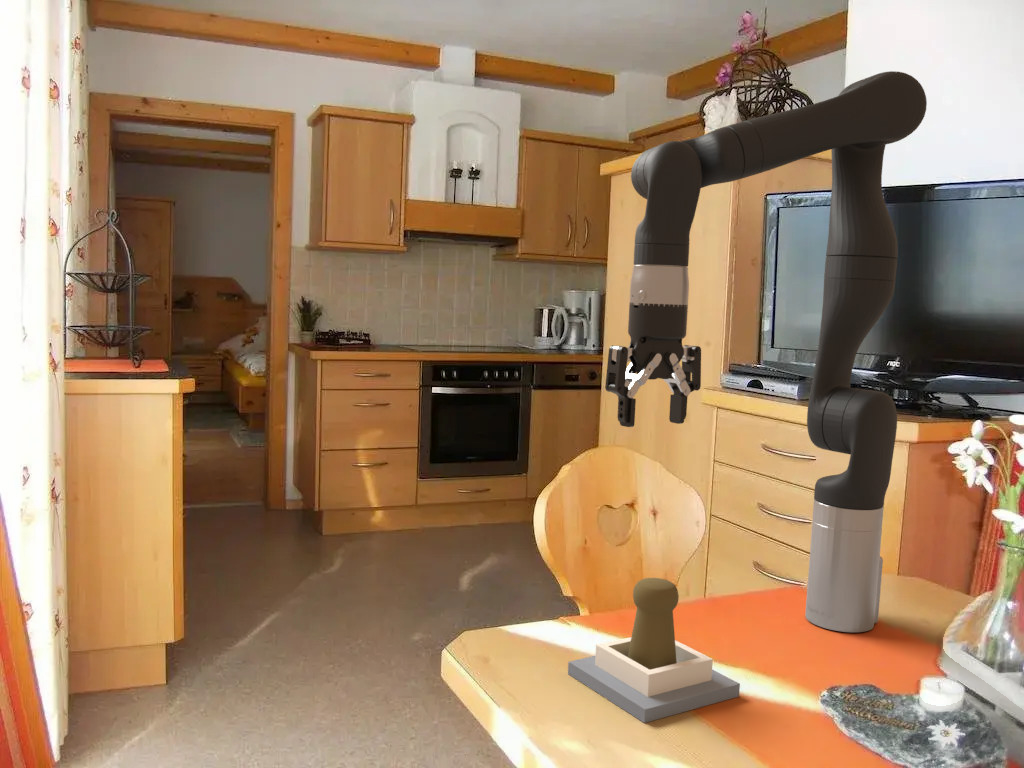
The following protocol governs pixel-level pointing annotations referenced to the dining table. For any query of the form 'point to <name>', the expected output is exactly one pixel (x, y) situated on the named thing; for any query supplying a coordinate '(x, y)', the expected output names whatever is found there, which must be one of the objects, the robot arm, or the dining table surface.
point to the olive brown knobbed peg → (654, 623)
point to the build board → (653, 681)
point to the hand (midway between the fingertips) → (651, 424)
